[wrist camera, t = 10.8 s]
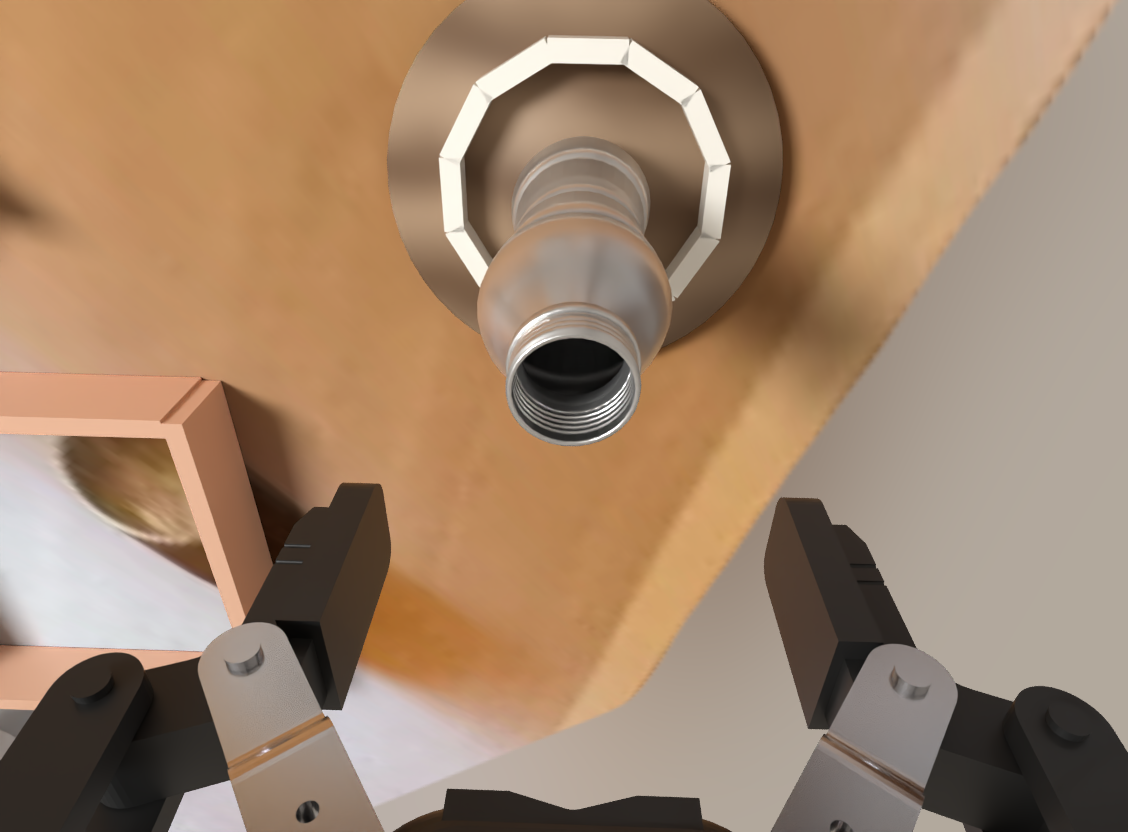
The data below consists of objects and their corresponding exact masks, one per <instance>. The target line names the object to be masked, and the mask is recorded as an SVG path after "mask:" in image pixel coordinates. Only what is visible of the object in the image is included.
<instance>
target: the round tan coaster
mask: <svg viewBox="0 0 1128 832" xmlns="http://www.w3.org/2000/svg"><path fill="white" fill-rule="evenodd" d="M549 35H569V36H616V37H628V38H629V40H630V38H632V39H633V40H635V41H636V42H637V43H639V44H640V45H642V46H643V47H645V48H646V49H647V50H649V51H650V52H652V53H653V54H654V55H656V56H657V57H659V58H660V59H662V60H663V61H664V62H666V63H667V64H669V65H670V66H672V67H673V68H674V69H676V70H677V71H679V72H680V73H681V74H683V75H684V76H686V77H687V78H689V79H690V80H691V81H693V82H694V83H695V84H696V85H697V86H698V87H699V88H700V89H701V91H702V94H703V96H704V99H705V101H706V104H707V106H708V108H709V111H710V113H711V116H712V118H713V121H714V123H715V125H716V128H717V130H718V133H719V135H720V137H721V140H722V142H723V145H724V147H725V150H726V152H727V154H728V157H729V159H730V164H731V168H730V175H729V183H728V190H727V197H726V204H725V211H724V218H723V225H722V233H721V239H718V240H719V243H718V244H717V246H716V247H715V248H714V250H713V251H712V252H711V254H710V255H709V256H708V258H707V259H706V260H705V262H704V263H703V264H702V266H701V267H700V269H699V270H698V271H697V273H696V274H695V275H694V277H693V278H692V279H691V281H690V282H689V283H688V285H687V286H686V287H685V289H684V290H683V291H682V293H681V294H680V295H679V297H678V298H676V297H675V296H674V297H675V300H674V301H672V306H673V307H672V314H671V321H670V326H669V329H668V331H667V334H666V337H665V339H664V342H663V344H662V346H661V348H662V347H665V346H667V345H669V344H670V343H672V342H674V341H676V340H678V339H680V338H682V337H683V336H685V335H687V334H688V333H690V332H691V331H693V330H694V329H695V328H697V327H698V326H700V325H701V324H703V323H704V322H705V321H706V320H708V319H709V318H710V317H711V316H712V315H713V314H714V313H715V312H717V311H718V310H719V309H720V308H721V307H722V306H723V305H724V304H725V303H726V302H727V301H728V299H729V298H730V297H731V296H732V295H733V294H734V293H735V292H736V290H737V289H738V288H739V287H740V285H741V284H742V282H743V281H744V279H745V278H746V277H747V275H748V274H749V272H750V271H751V269H752V268H753V266H754V264H755V262H756V260H757V259H758V257H759V255H760V253H761V251H762V249H763V247H764V245H765V243H766V240H767V237H768V235H769V232H770V229H771V227H772V224H773V222H774V218H775V213H776V209H777V205H778V201H779V197H780V190H781V181H782V172H783V150H782V136H781V130H780V123H779V116H778V112H777V109H776V105H775V102H774V98H773V95H772V91H771V88H770V86H769V83H768V81H767V79H766V77H765V74H764V72H763V70H762V68H761V65H760V63H759V61H758V60H757V58H756V56H755V55H754V53H753V52H752V50H751V49H750V47H749V45H748V44H747V42H746V41H745V39H744V37H743V36H742V35H741V34H740V33H739V32H738V30H737V29H736V28H735V27H734V26H733V24H732V23H731V22H730V21H729V20H728V19H727V17H726V16H725V15H724V14H723V13H721V12H720V11H719V10H718V9H717V8H716V7H715V6H713V5H712V4H711V3H710V2H709V1H708V0H466V1H464V2H463V3H462V4H460V5H459V6H458V7H457V8H455V9H454V10H453V11H452V12H451V13H450V14H449V15H448V17H447V18H446V19H445V20H444V21H443V22H442V23H441V24H440V25H439V26H438V27H437V28H436V29H435V30H434V31H433V33H432V34H431V36H430V37H429V39H428V40H427V41H426V43H425V44H424V46H423V47H422V48H421V50H420V51H419V53H418V54H417V56H416V58H415V60H414V62H413V64H412V66H411V68H410V70H409V72H408V73H407V75H406V77H405V79H404V82H403V85H402V87H401V90H400V93H399V96H398V99H397V102H396V104H395V108H394V113H393V117H392V122H391V127H390V132H389V142H388V155H387V168H388V187H389V193H390V198H391V204H392V209H393V214H394V217H395V220H396V223H397V227H398V230H399V233H400V236H401V239H402V241H403V243H404V245H405V247H406V250H407V252H408V254H409V256H410V259H411V260H412V262H413V264H414V265H415V267H416V269H417V270H418V272H419V274H420V275H421V277H422V278H423V280H424V281H425V283H426V284H427V285H428V286H429V288H430V289H431V290H432V292H433V293H434V294H435V295H436V297H437V298H438V299H439V300H440V301H441V302H442V303H443V304H444V305H445V306H446V307H447V308H448V309H449V310H450V311H451V312H452V313H453V314H454V315H455V316H456V317H457V318H459V319H460V320H461V321H462V322H464V323H465V324H466V325H468V326H469V327H470V328H471V329H473V330H474V331H476V332H477V333H479V334H481V332H480V328H479V323H478V319H477V300H478V295H479V290H480V287H479V286H478V284H477V283H476V281H475V279H474V278H473V276H472V275H471V273H470V272H469V270H468V269H467V267H466V266H465V264H464V263H463V261H462V260H461V258H460V256H459V255H458V253H457V252H456V250H455V249H454V247H453V246H452V244H451V243H450V241H449V240H448V238H447V236H446V235H445V234H446V233H447V232H444V220H443V207H442V194H441V181H440V168H439V157H440V153H441V151H442V149H443V146H444V144H445V142H446V140H447V138H448V136H449V134H450V132H451V130H452V128H453V126H454V124H455V122H456V119H457V117H458V115H459V113H460V111H461V109H462V107H463V105H464V103H465V101H466V99H467V97H468V95H469V92H470V90H471V88H472V86H473V84H474V83H475V82H476V81H477V80H478V79H479V78H480V77H482V76H483V75H485V74H487V73H488V72H490V71H491V70H493V69H494V68H496V67H498V66H499V65H501V64H502V63H504V62H506V61H507V60H509V59H510V58H512V57H513V56H515V55H517V54H518V53H520V52H521V51H523V50H524V49H526V48H528V47H529V46H531V45H532V44H534V43H535V42H537V41H539V40H540V39H542V38H543V37H545V36H546V37H548V36H549ZM577 136H592V137H596V138H601V139H604V140H607V141H609V142H611V143H613V144H615V145H617V146H619V147H620V148H621V149H623V150H624V151H625V152H627V153H628V154H629V155H630V156H631V157H632V158H633V159H634V160H635V161H636V163H637V164H638V165H639V166H640V168H641V170H642V172H643V174H644V175H645V178H646V181H647V184H648V187H649V193H650V212H649V219H648V224H647V227H646V230H645V233H644V237H645V238H646V239H647V241H648V242H649V243H650V245H651V246H652V247H653V249H654V250H655V252H656V254H657V256H658V257H659V259H660V261H661V262H662V264H663V267H664V269H665V270H666V269H667V267H668V266H669V264H670V263H671V262H672V260H673V259H674V257H675V256H676V255H677V253H678V252H679V250H680V249H681V248H682V246H683V245H684V243H685V242H686V241H687V239H688V238H689V236H690V235H691V234H692V232H693V231H694V229H695V228H696V227H697V223H698V215H699V207H700V199H701V190H702V182H703V174H704V165H705V161H704V158H703V156H702V154H701V151H700V149H699V147H698V144H697V142H696V140H695V137H694V135H693V133H692V130H691V128H690V126H689V123H688V121H687V119H686V116H685V114H684V112H683V109H682V107H681V105H680V103H678V102H677V101H676V100H674V99H673V98H671V97H670V96H668V95H667V94H665V93H664V92H662V91H661V90H660V89H658V88H657V87H655V86H654V85H652V84H651V83H649V82H648V81H647V80H645V79H644V78H642V77H641V76H639V75H638V74H636V73H635V72H633V71H632V70H631V69H629V68H628V67H626V66H625V65H617V64H571V63H551V64H549V65H548V66H546V67H544V68H543V69H541V70H540V71H538V72H536V73H535V74H533V75H532V76H530V77H528V78H527V79H525V80H523V81H522V82H520V83H519V84H517V85H515V86H514V87H512V88H511V89H509V90H507V91H506V92H504V93H503V94H501V95H499V96H498V97H496V98H494V99H493V100H492V102H491V104H490V106H489V108H488V110H487V112H486V114H485V116H484V118H483V120H482V122H481V124H480V126H479V128H478V130H477V132H476V134H475V136H474V138H473V140H472V142H471V144H470V146H469V148H468V150H467V152H466V154H465V156H464V158H465V176H466V193H467V211H468V221H469V222H470V224H471V225H472V227H473V229H474V230H475V232H476V233H477V235H478V237H479V238H480V240H481V241H482V243H483V245H484V246H485V248H486V249H487V251H488V253H489V254H490V256H491V257H492V259H493V258H494V257H495V256H496V254H497V253H498V251H499V250H500V249H501V247H502V246H503V245H504V244H505V243H506V241H507V240H508V239H509V238H510V237H511V236H512V235H513V234H514V228H513V223H512V197H513V192H514V187H515V185H516V182H517V180H518V178H519V175H520V174H521V172H522V171H523V169H524V168H525V166H526V165H527V163H528V162H529V161H530V160H531V159H532V158H533V157H534V156H535V155H536V154H537V153H539V152H540V151H542V150H543V149H545V148H546V147H548V146H549V145H551V144H553V143H556V142H558V141H561V140H563V139H566V138H571V137H577Z"/></svg>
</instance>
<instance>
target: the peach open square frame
mask: <svg viewBox="0 0 1128 832" xmlns="http://www.w3.org/2000/svg"><path fill="white" fill-rule="evenodd" d="M0 434H32V435H66V436H100V437H134V438H166V440H167V443H168V446H169V449H170V452H171V455H172V458H173V460H174V463H175V466H176V469H177V472H178V475H179V478H180V480H181V483H182V486H183V489H184V492H185V495H186V498H187V500H188V503H189V506H190V509H191V512H192V515H193V518H194V520H195V523H196V526H197V529H198V532H199V535H200V538H201V540H202V543H203V546H204V549H205V552H206V555H207V558H208V561H209V563H210V566H211V569H212V572H213V575H214V578H215V581H216V583H217V586H218V589H219V592H220V595H221V598H222V601H223V603H224V606H225V609H226V612H227V615H228V618H229V621H230V623H231V626H232V628H234V627H237V626H240V625H242V623H243V621H244V619H245V617H246V615H247V614H248V612H249V610H250V608H251V606H252V604H253V602H254V600H255V598H256V596H257V595H258V593H259V591H260V589H261V587H262V585H263V583H264V581H265V579H266V577H267V576H268V574H269V572H270V570H271V568H272V566H273V563H272V560H271V556H270V553H269V549H268V546H267V542H266V538H265V535H264V531H263V528H262V524H261V521H260V517H259V514H258V510H257V507H256V503H255V500H254V496H253V493H252V489H251V486H250V482H249V478H248V475H247V471H246V468H245V464H244V461H243V457H242V454H241V450H240V447H239V443H238V440H237V436H236V433H235V429H234V425H233V422H232V418H231V415H230V411H229V408H228V404H227V401H226V397H225V394H224V390H223V387H222V383H221V381H209V380H202V379H201V377H165V376H129V375H94V374H58V373H22V372H0ZM112 652H122V653H127V654H131V655H133V656H135V657H136V658H137V659H139V661H140V662H141V664H142V665H143V667H144V670H147V669H152V668H156V667H160V666H165V665H169V664H173V663H178V662H182V661H186V660H190V659H194V658H197V657H199V656H202V654H203V652H190V651H160V650H130V649H100V648H70V647H40V646H10V645H0V709H16V710H35V708H36V707H37V706H38V704H39V703H40V701H41V700H42V698H43V697H44V695H45V694H46V692H47V691H48V689H49V688H50V687H51V685H52V684H53V683H54V682H55V681H56V680H57V679H58V678H59V677H60V676H61V675H62V674H63V673H65V672H66V671H67V670H69V669H70V668H72V667H73V666H75V665H76V664H78V663H80V662H82V661H84V660H86V659H89V658H91V657H94V656H97V655H100V654H105V653H112Z"/></svg>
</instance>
